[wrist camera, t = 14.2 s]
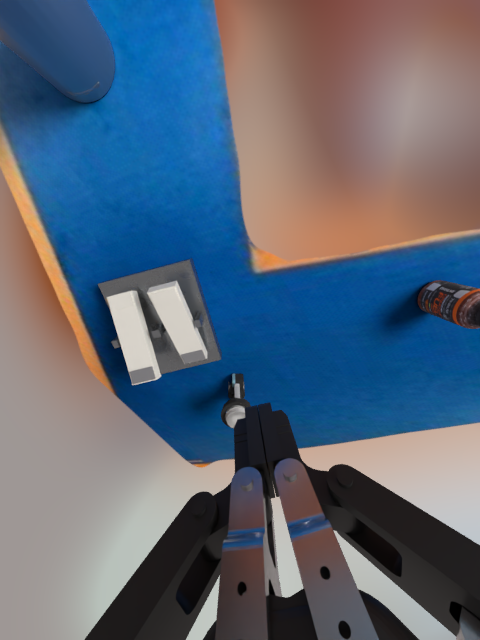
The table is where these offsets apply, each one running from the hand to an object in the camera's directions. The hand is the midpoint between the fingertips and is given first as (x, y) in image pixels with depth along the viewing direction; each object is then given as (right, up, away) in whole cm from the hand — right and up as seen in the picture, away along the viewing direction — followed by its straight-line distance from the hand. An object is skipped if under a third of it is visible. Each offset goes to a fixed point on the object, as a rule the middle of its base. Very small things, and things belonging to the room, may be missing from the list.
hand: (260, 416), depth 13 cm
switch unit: (-14, +6, +28) cm, 32 cm away
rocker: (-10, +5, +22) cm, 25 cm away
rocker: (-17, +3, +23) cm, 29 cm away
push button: (-2, -8, +34) cm, 35 cm away
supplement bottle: (+34, +10, +29) cm, 46 cm away
